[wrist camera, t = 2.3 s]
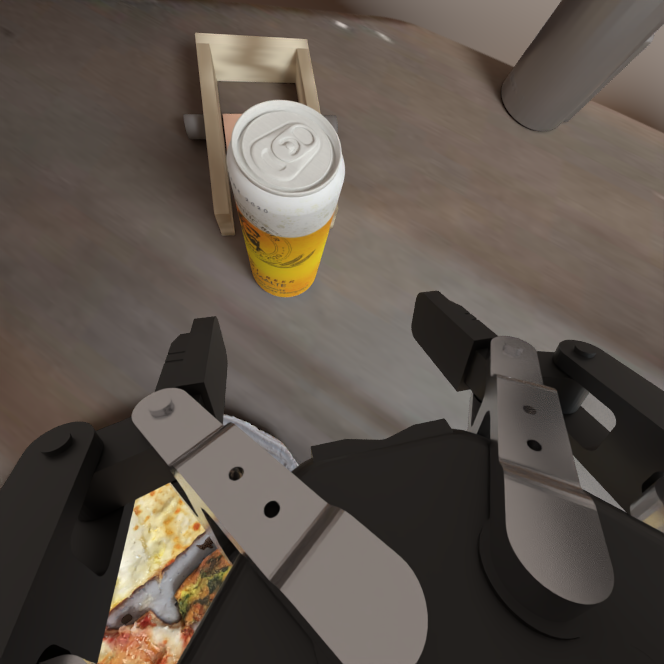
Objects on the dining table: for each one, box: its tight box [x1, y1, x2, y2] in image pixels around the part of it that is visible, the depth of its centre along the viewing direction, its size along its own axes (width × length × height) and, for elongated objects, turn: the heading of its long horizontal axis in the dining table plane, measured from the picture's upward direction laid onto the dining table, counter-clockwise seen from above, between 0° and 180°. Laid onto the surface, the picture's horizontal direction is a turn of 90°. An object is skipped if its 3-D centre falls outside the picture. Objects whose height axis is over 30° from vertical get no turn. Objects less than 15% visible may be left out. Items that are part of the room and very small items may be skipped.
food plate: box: [97, 414, 299, 664], centre depth 21 cm, size 25×23×4 cm
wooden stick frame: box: [184, 33, 338, 236], centre depth 30 cm, size 15×19×4 cm
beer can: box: [226, 100, 345, 297], centre depth 22 cm, size 6×6×15 cm
